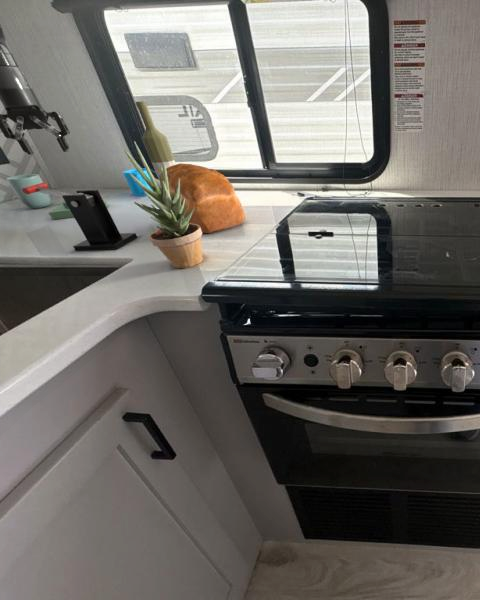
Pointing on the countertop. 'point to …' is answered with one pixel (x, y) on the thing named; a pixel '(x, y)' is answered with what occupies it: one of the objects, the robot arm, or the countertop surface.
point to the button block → (63, 211)
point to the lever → (52, 192)
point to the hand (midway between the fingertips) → (48, 152)
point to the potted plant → (170, 219)
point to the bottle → (155, 142)
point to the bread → (206, 197)
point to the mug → (132, 184)
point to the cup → (29, 199)
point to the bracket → (95, 223)
